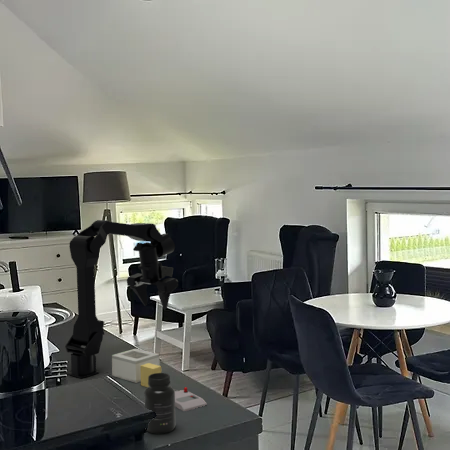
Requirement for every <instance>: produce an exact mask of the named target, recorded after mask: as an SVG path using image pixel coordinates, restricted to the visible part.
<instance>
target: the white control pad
mask: <svg viewBox="0 0 450 450" xmlns="http://www.w3.org/2000/svg"><path fill="white" fill-rule="evenodd" d="M173 389H174V391H175V408H176V409H179V410H181V411H183V412H188V411H192V410H195V408H196V409H199V408H198V407H200V408H202V406H203V407H206V406H205V405H207V406H208V404H207V402H206V401H205V400H204V398H203V397H200V396H199V395H196V394H195V393H192V392H191V391H189V390H188V386H187V387H186V386H185V387H184V388H183V389H181V390H178V389H175V388H173Z"/></svg>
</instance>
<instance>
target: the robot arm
mask: <svg viewBox="0 0 450 450" xmlns="http://www.w3.org/2000/svg"><path fill="white" fill-rule="evenodd" d="M108 235H115V236H116V235H117V236H125V237H129V238H130V239H132V240H133V241H137V242H136V245H135V246H134V247H133V251H134V252H138V256H139V263H140V265H138V266H137V268H138V270H140V271H141V273H135V274H132V275H130V276H128V277H127V279H126V285H127V286H129V288H130V289H131V290H132V291H133V292H134V293H135V295H136V296H137V297H138V298H139V300H140V302H141V303H142V305H143V306H145V307H146V306H147V305H148V294H147V293H148V292H147V288H148V286H150V285H151V286H156V288H157V290H158V291H157V294H158V298H159V300H160V303H161V307H162V308H163V310H167V309H168V305H169V301H170V297H171V293H172V292H173V291H174V290H176V288H178V287H179V281H178V279H177V278H174V277H173V275H174V274H173V272H174V267H170V266H169V267H168V266H163V264H162V262H159V259H158V258H162V257H164V256H166V255H169V254H171V253H173V252H174V251H175V248H176V244H175V242H174V240H173V239H172V238H171V237H170V235H169V233H162V234H161V232H160V231H159V230H158V229H157V226H156V224H154V223H150V222H149V223H145V222H144V223H143V222H140V223H139V222H136V223H135V222H134V223H123V222H115V221H114V222H113V221H109V220H103V219H102V220H101V219H96V220H95V221H94V222H92V223H91V224H90V225H89V226H88V227H86V228H84V229H83V230H82V231H80V232H79V233H78V234H76V236H73V238H71V240H70V242H69V252H70V257H71V260H72V261H73V263H74V266H75V267H76V283H77V285H76V287H77V288H76V289H77V313H78V315H77V316H78V317H76V319H75V322H74V323H73V330H72V335H71V336H70V338H69V340H68V341H67V343H66V344H65V347H64V348H65V350H66V353H70V371H68V373H67V375H69V376H72V377H76V378H78V379H83V378H88V377H90V376H93V375H96V374H99V373H100V371H99V370H97V356H96V355H97V354H99V352H100V350H101V349H100V348H101V345H102V342H103V339H104V335H105V332H104V321H103V320H100V319H98V317H97V312H96V310H97V309H96V286H95V285H96V282H95V276H96V275H95V266H96V264H97V262H98V261H99V257H100V252H101V251H100V250H101V248H102V247H103V246H104V245H105V244H106V241H107V238H108ZM143 242H144V243H143ZM165 277H166V278H165Z"/></svg>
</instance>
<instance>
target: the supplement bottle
mask: <svg viewBox="0 0 450 450" xmlns="http://www.w3.org/2000/svg"><path fill="white" fill-rule="evenodd" d="M171 383H172V382H171V375H170V374H168V373H166V372H162V373H155V374H151V375H150V376H149V377H148V385H149V387H146V388H145V391H144V392H143V400H144V402H143V403H144V404H143V405H144V406H145V407H144V409H145V408H147V409H149V410H152V411H153V412H155V413H156V415H157V416H156V418H154V419H153V420H152V421H151V422H150V423H149V425H148V429H147V430H146V432H148V433H151V434H154V435H155V434H156V435H162V434H163V435H164V434H167V433H170V432H172V431H173V430H174V429H175V428H176V407H175V391H174V389H175V388H173V386H171Z"/></svg>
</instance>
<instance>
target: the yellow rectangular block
mask: <svg viewBox="0 0 450 450" xmlns="http://www.w3.org/2000/svg"><path fill="white" fill-rule="evenodd" d="M140 367H141V381H140V386H142V387H145V388H148V387H149V385H148V377H149V376H150V375H151V374H155V373H163V372H162V366H161V365H160V366H158V365H154V364H150V363H147V364H144V365H141V366H140Z"/></svg>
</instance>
